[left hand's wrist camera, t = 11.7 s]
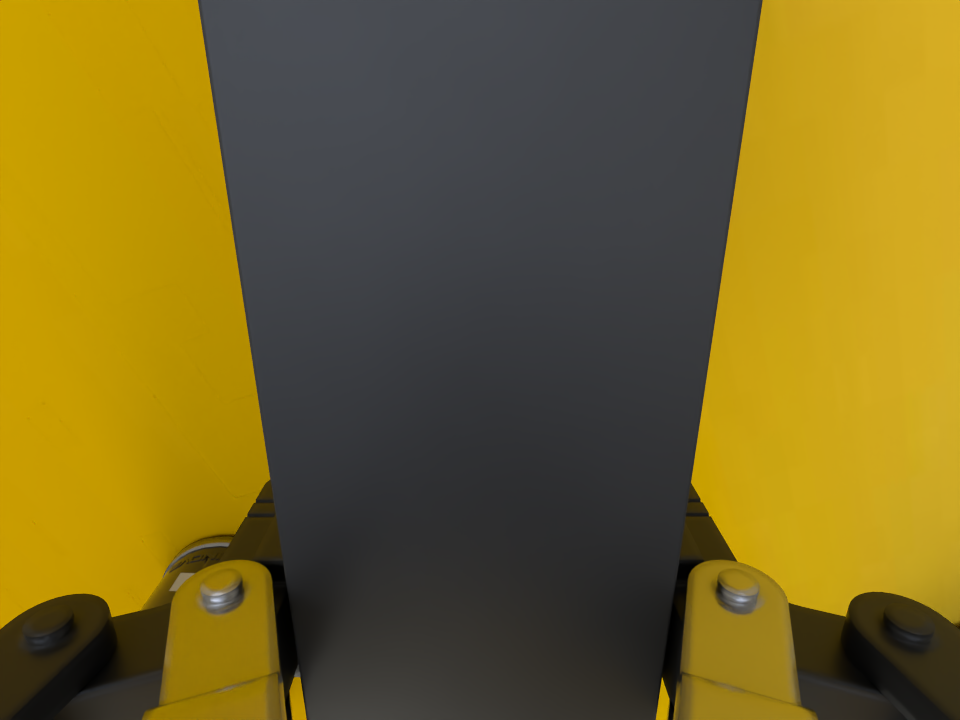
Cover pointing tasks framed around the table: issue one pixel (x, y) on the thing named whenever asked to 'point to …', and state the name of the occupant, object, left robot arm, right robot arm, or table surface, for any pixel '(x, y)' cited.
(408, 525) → the bar
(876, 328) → the table surface
